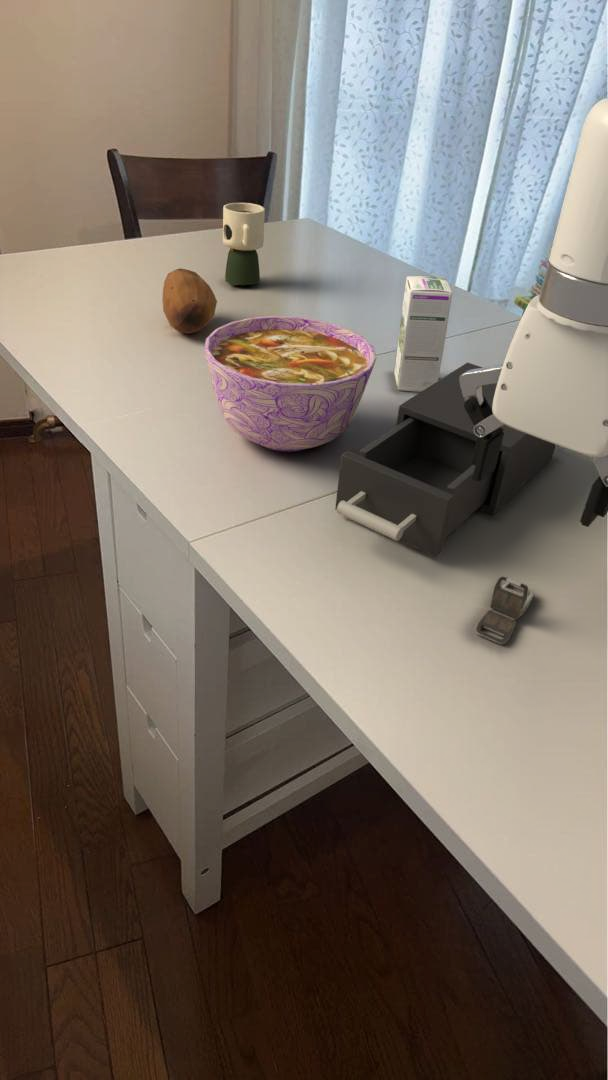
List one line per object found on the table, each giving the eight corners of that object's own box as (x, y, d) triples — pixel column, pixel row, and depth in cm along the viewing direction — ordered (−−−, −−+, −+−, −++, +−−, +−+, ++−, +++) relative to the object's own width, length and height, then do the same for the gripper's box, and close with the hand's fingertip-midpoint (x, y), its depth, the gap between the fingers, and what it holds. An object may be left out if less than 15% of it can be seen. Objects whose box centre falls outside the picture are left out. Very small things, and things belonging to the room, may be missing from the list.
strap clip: (504, 586, 78) (514, 551, 76) (534, 597, 77) (545, 562, 74) (472, 634, 72) (481, 598, 70) (504, 648, 71) (514, 612, 68)
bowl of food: (396, 457, 97) (410, 368, 90) (249, 493, 88) (252, 398, 81) (314, 389, 111) (320, 307, 104) (179, 414, 102) (176, 327, 95)
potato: (201, 359, 123) (158, 336, 118) (188, 309, 132) (147, 285, 126) (231, 324, 120) (188, 299, 115) (216, 275, 128) (175, 249, 123)
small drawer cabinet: (493, 515, 88) (510, 447, 83) (389, 471, 94) (399, 405, 89) (551, 459, 99) (570, 396, 94) (454, 423, 105) (467, 362, 100)
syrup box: (437, 393, 112) (455, 291, 104) (395, 390, 112) (410, 288, 103) (431, 376, 117) (449, 277, 108) (391, 373, 117) (406, 274, 108)
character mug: (220, 273, 147) (220, 198, 140) (258, 273, 148) (261, 200, 141) (224, 293, 139) (225, 215, 131) (265, 294, 140) (268, 216, 132)
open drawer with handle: (415, 577, 77) (426, 519, 73) (311, 526, 82) (317, 470, 78) (503, 494, 90) (516, 441, 86) (408, 456, 96) (417, 404, 92)
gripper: (732, 316, 56) (650, 518, 66) (506, 256, 63) (464, 444, 73) (704, 344, 51) (620, 558, 61) (463, 275, 58) (423, 475, 68)
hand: (534, 496), depth 67 cm, fingers open, 9 cm apart
